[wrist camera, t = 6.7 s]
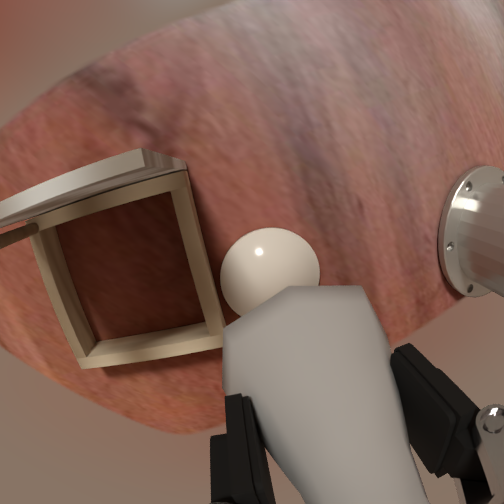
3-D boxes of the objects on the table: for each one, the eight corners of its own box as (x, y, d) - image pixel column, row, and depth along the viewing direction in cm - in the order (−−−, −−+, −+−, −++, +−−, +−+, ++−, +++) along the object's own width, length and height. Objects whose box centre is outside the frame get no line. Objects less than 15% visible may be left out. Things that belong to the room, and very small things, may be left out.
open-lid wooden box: (184, 160, 20) (140, 147, 9) (227, 329, 24) (235, 449, 12) (40, 207, 20) (-72, 242, 8) (91, 353, 23) (34, 453, 12)
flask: (386, 390, 13) (490, 541, 4) (245, 436, 13) (276, 626, 4) (375, 254, 12) (597, 406, 2) (192, 310, 11) (160, 606, 2)
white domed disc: (309, 217, 22) (311, 218, 22) (323, 308, 24) (325, 310, 23) (209, 240, 22) (209, 241, 21) (232, 330, 24) (233, 333, 23)
